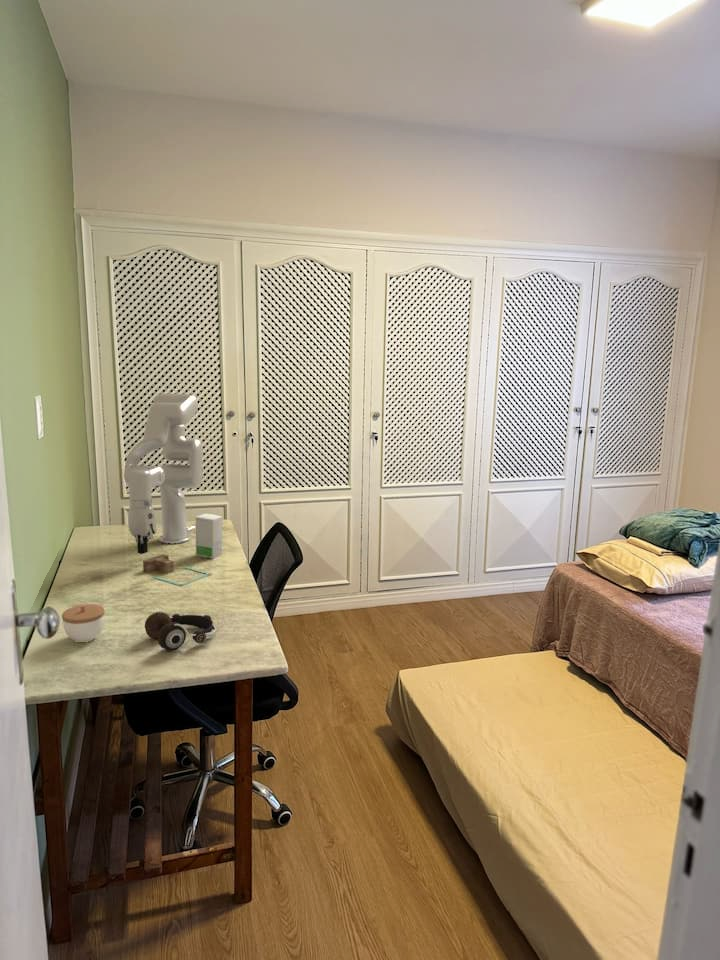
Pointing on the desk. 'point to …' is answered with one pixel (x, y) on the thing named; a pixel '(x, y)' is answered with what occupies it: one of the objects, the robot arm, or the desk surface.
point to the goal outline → (186, 582)
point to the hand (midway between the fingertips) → (142, 552)
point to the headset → (177, 629)
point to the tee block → (158, 564)
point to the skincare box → (208, 535)
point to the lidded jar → (83, 622)
